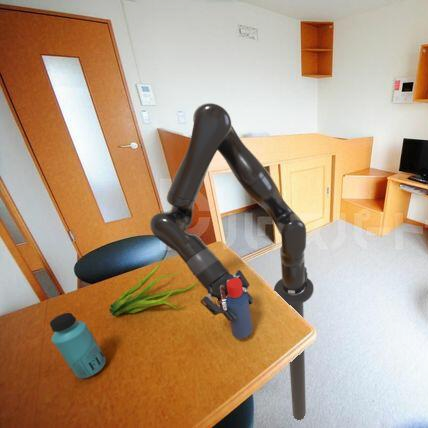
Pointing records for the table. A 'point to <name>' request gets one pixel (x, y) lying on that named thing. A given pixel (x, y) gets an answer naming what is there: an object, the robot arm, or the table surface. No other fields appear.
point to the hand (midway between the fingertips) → (243, 311)
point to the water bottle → (240, 316)
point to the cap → (234, 287)
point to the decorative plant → (143, 296)
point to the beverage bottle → (77, 345)
